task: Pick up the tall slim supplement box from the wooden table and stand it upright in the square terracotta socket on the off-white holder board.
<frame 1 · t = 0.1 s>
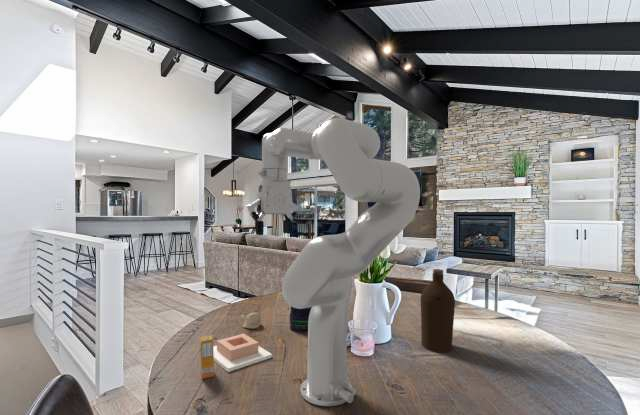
hand: (273, 234, 100), 37 cm above the table, tool pointing down, fingers open, 9 cm apart
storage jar: (302, 328, 125), on the table
socket holder: (237, 354, 102), on the table
decorative ornament: (251, 327, 125), on the table
olive oil: (436, 346, 111), on the table
supplement box: (206, 376, 90), on the table
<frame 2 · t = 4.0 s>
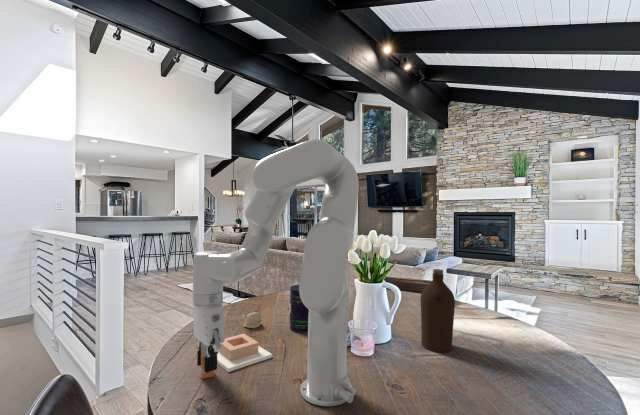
hand: (207, 366, 90), 2 cm above the table, tool pointing down, fingers closed on supplement box, 3 cm apart
supplement box: (206, 376, 90), on the table, touching gripper
everything else where it was.
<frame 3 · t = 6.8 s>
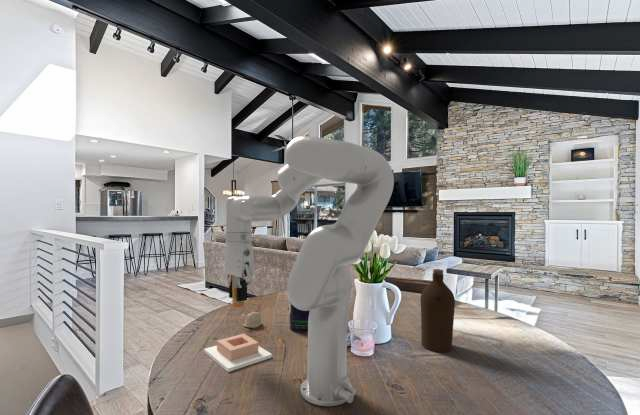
hand: (238, 298, 102), 17 cm above the table, tool pointing down, fingers closed on supplement box, 3 cm apart
supplement box: (237, 306, 102), point 15 cm above the table, touching gripper
everything else where it was.
when the fingers open (5 cm above the table, at t = 9.8 s): supplement box drops 2 cm, resting on socket holder.
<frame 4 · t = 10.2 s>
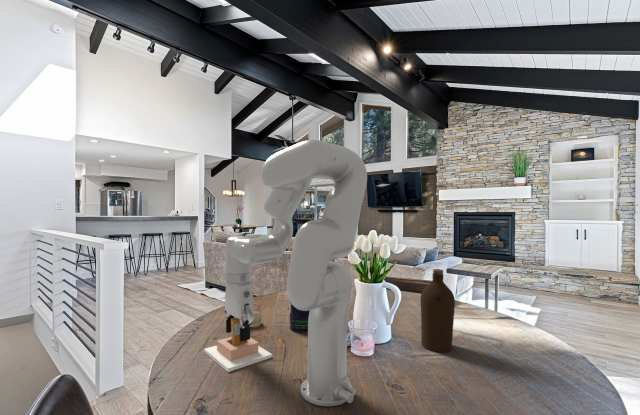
hand: (237, 335, 102), 6 cm above the table, tool pointing down, fingers open, 8 cm apart
supplement box: (237, 352, 102), point 1 cm above the table, touching socket holder
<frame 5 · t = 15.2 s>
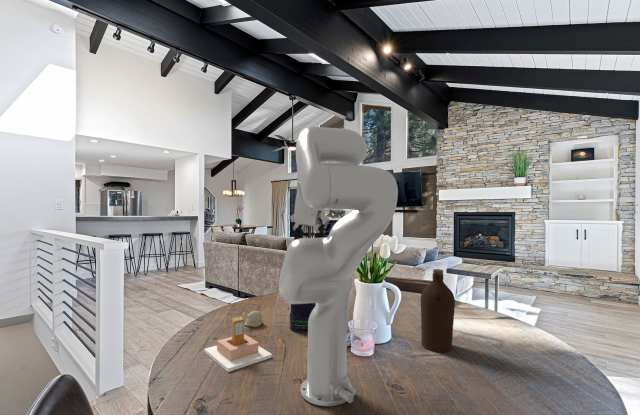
hand: (308, 244, 104), 33 cm above the table, tool pointing down, fingers open, 9 cm apart
at the end: supplement box 0.2 cm off-centre on the socket holder, point 0.8 cm above the socket holder's base; supplement box tilted 0°; the gripper is holding nothing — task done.
